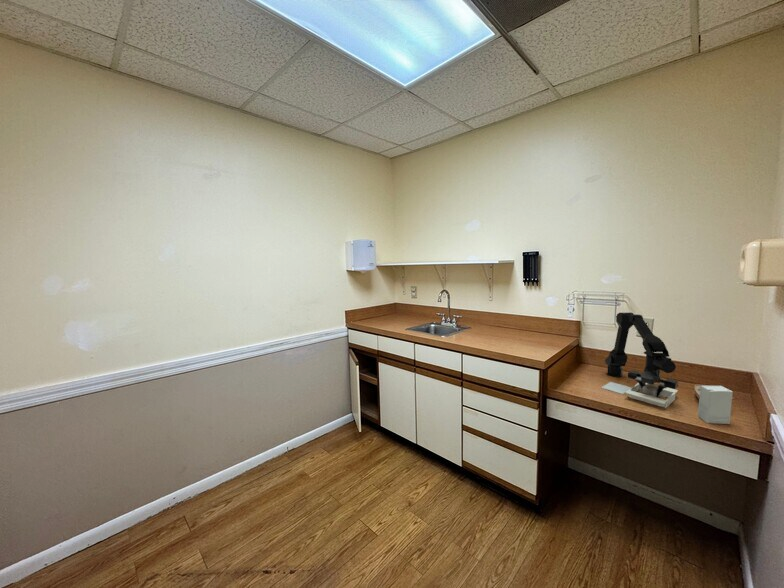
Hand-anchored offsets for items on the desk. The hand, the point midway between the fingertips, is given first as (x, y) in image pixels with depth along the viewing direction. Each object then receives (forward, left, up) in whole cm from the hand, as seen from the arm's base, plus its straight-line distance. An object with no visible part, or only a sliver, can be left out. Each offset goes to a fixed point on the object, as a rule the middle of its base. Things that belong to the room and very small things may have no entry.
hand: (650, 395), depth 156 cm
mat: (-15, +1, -2) cm, 15 cm away
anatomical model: (+18, +15, -2) cm, 24 cm away
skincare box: (+23, -5, -2) cm, 24 cm away
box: (0, +1, -2) cm, 2 cm away
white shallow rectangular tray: (0, +1, -2) cm, 2 cm away
